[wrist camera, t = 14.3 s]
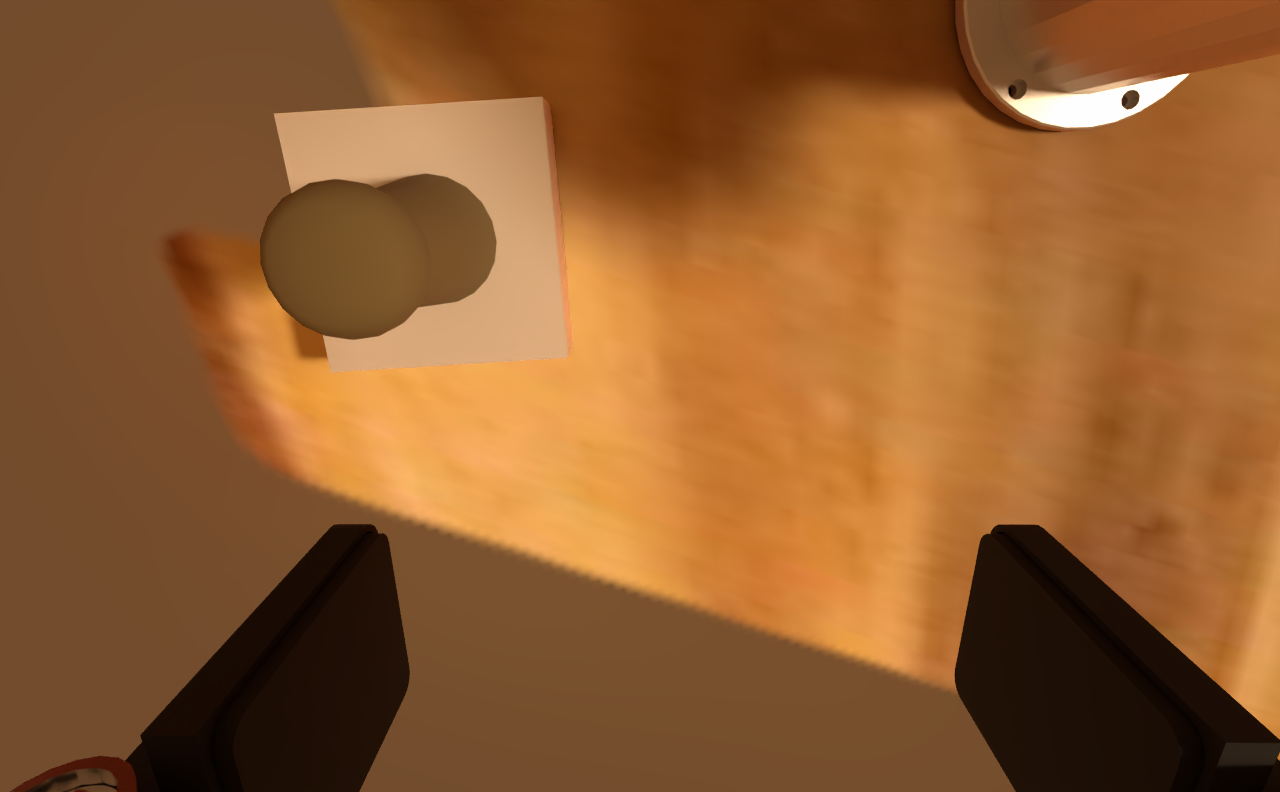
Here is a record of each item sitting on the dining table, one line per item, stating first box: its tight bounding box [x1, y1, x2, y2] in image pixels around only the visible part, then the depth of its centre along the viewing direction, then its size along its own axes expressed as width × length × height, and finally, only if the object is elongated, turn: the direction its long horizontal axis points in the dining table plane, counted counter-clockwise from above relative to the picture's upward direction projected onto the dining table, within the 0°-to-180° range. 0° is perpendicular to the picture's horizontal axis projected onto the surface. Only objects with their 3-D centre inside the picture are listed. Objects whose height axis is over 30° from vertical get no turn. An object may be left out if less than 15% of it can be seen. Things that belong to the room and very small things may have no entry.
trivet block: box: [274, 96, 573, 372], centre depth 31 cm, size 12×12×3 cm
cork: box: [260, 173, 497, 340], centre depth 25 cm, size 6×6×11 cm
